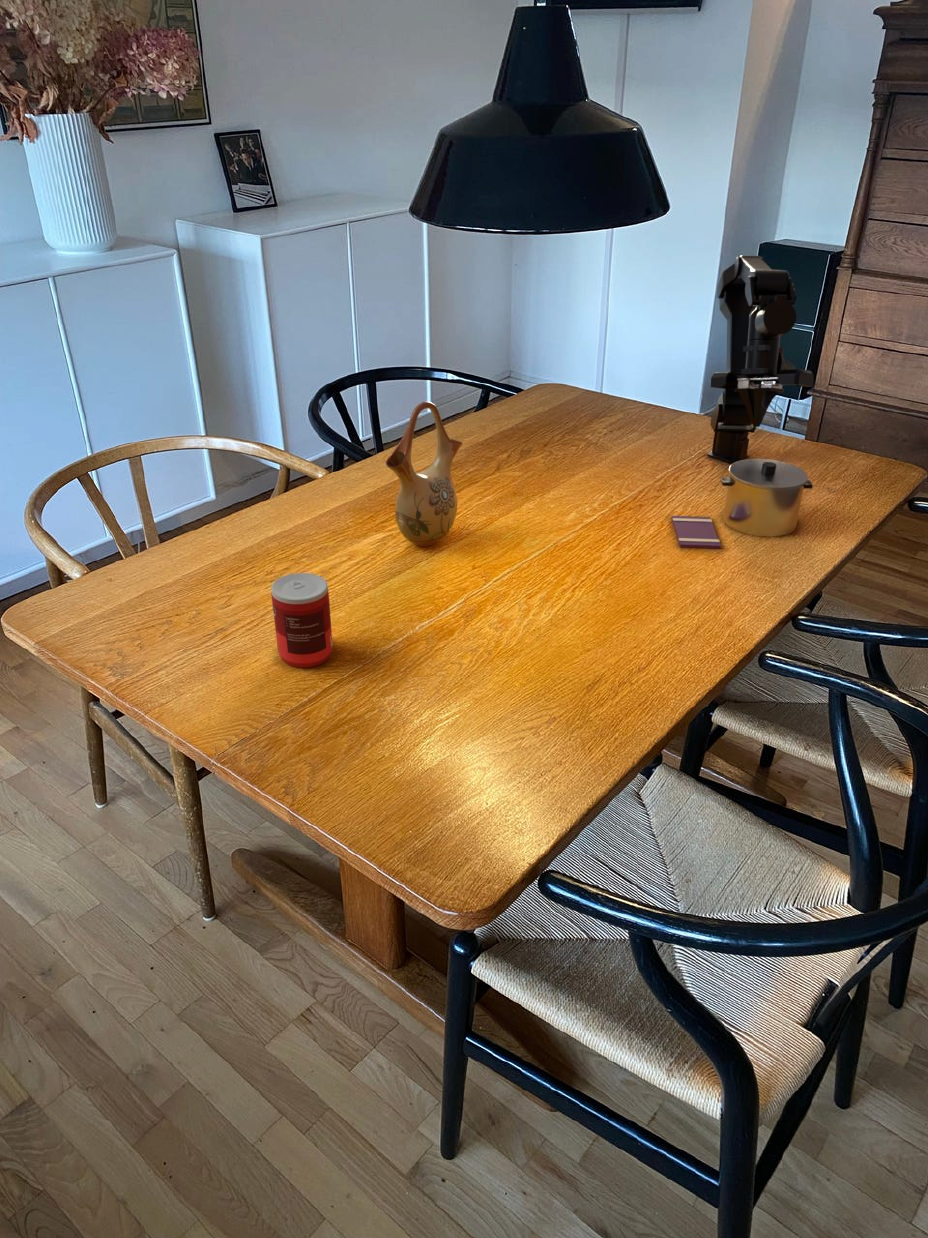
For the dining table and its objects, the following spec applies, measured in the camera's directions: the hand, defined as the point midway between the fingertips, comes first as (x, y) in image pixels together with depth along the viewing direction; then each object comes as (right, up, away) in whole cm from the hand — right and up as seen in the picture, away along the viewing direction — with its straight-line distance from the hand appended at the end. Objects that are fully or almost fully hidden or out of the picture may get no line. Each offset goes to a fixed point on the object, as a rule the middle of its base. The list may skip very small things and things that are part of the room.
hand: (756, 426), depth 175 cm
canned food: (-78, -42, -44) cm, 98 cm away
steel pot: (-1, -18, -5) cm, 19 cm away
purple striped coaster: (-14, -21, -9) cm, 27 cm away
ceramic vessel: (-62, -23, -12) cm, 67 cm away
